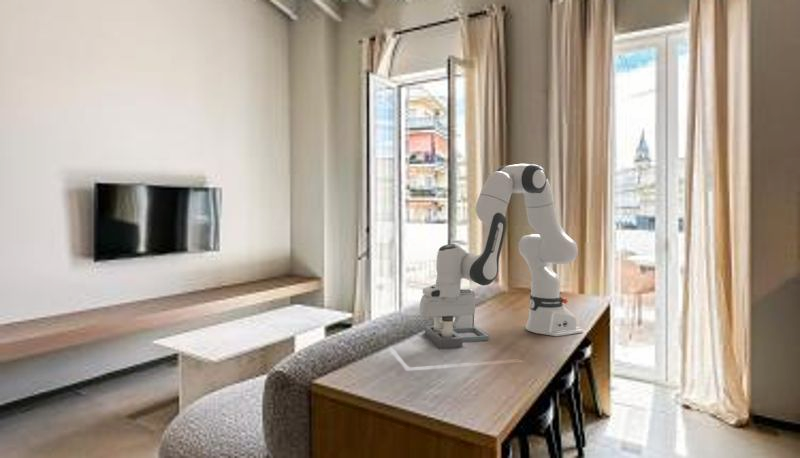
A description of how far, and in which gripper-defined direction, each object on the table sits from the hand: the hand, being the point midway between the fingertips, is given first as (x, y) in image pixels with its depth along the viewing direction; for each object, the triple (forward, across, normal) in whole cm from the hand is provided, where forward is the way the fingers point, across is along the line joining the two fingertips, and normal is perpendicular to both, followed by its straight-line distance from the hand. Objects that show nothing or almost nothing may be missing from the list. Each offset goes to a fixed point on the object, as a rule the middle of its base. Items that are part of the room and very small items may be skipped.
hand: (447, 327), depth 175 cm
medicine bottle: (+7, -16, -21) cm, 27 cm away
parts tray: (+7, -11, -7) cm, 15 cm away
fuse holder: (+7, 0, -4) cm, 8 cm away
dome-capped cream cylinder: (+6, 0, -8) cm, 10 cm away
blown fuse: (+5, 0, 0) cm, 5 cm away
